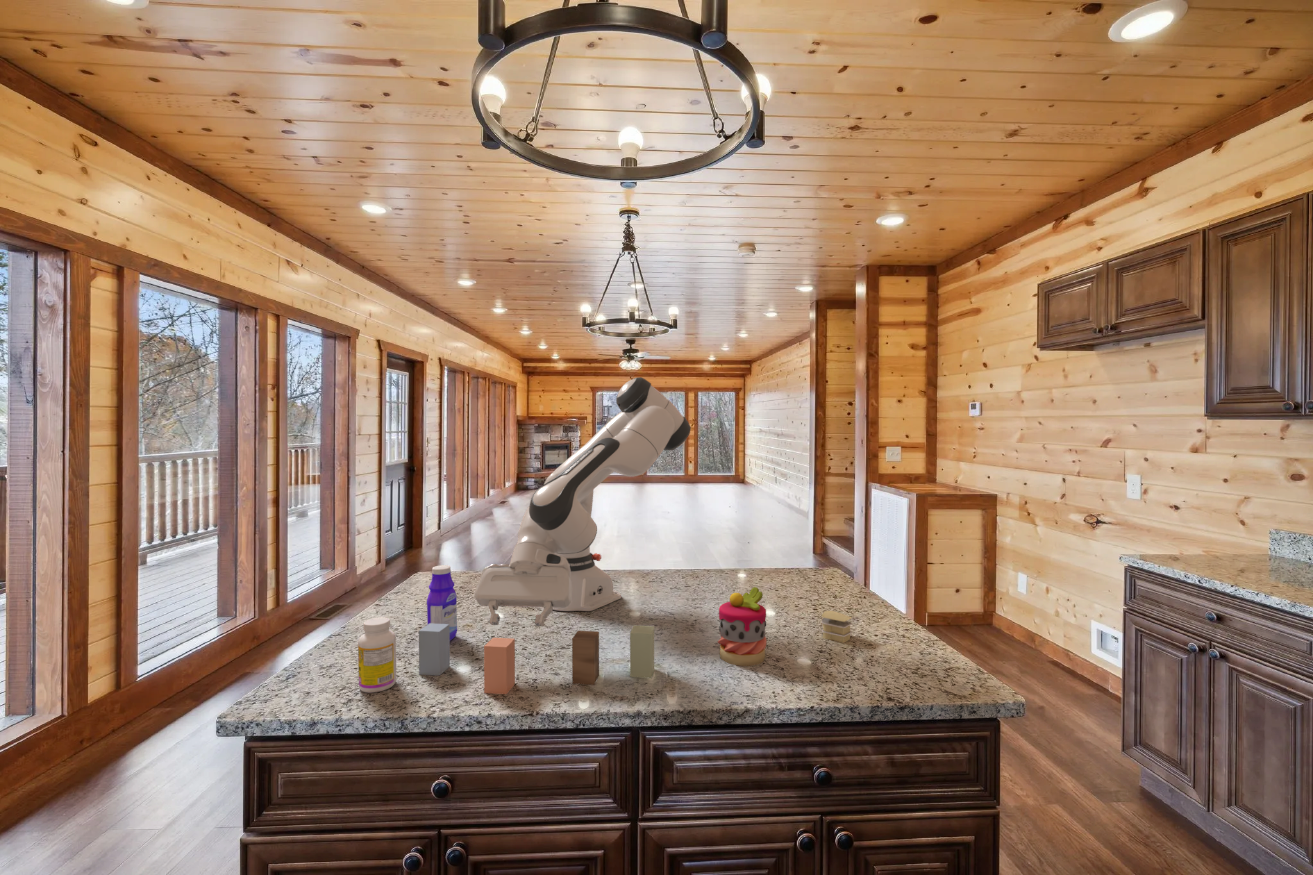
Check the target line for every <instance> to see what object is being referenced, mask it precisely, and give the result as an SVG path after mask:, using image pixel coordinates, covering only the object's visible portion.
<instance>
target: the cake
mask: <svg viewBox="0 0 1313 875" xmlns="http://www.w3.org/2000/svg"><path fill="white" fill-rule="evenodd" d="M762 598H763V592H762V591H760V588H758V587H756V586H753V587H752V588H751V590H750V591H749V593H748V592H744V594H743V595H742V594H741V593H740V592H733V593H731V594H730V596H729V601H727V602H724V603H722V604H721V605H720V606H719V608H718V618H719V627H718V628H719V635H720V638H719V640H718V641H717V643H718V644H719V658H720V659H721V660H722V661H723V662H724V663H726V664H730V665H733V666H738V667H753V666H758V665H760V664H762V663H763V662H765V659H766V647H767V643H768V642H767V637H766V627H767V621H766V618H767V610H766V607H764V605H761V604H760V603H759V602H760V601H761V600H762Z"/></svg>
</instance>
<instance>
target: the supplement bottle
mask: <svg viewBox="0 0 1313 875" xmlns="http://www.w3.org/2000/svg"><path fill="white" fill-rule="evenodd" d="M390 627H391V619H390V618H389V617H385V616H380V617H379V616H378V617H373V618H368V619H366V620H364V622H363V626H362V628H363V630H364V633H363V634H362V635H361V636H360V637H359V638H358V640H357V648H358V649H357V650H358V651H357V653H358V656H357V658H358V659H357V662H358V688H359V690H360V691H361V692H363V693H371V694H373V693H379V692H382V691H383V692H384V691H386V690H388V689H390V688H392V687H393V686H394V685H395V684H396V682H397V638H396V636H397V635H396V633H395V632H394V631H393V630H391V629H390Z"/></svg>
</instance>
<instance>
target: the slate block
mask: <svg viewBox="0 0 1313 875" xmlns="http://www.w3.org/2000/svg"><path fill="white" fill-rule="evenodd" d="M450 642H451V640H450V632H449V624H432V623H429V624H428V625H427V624H426V625H425V626H423V627H422V628H420V629H419V630H418V675H422V676H439V677H440V676H441V675H442V674H443V673H445V671H446V670H448V669H449V668H450V667H451V666H450V663H451V662H450V660H451V659H450V658H451V657H450V656H451V655H450Z"/></svg>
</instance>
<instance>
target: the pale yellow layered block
mask: <svg viewBox="0 0 1313 875" xmlns="http://www.w3.org/2000/svg"><path fill="white" fill-rule="evenodd" d="M821 618H822V620H821V621H820V622H821V623H822V628H821V632H822V638H823V639H824V640H828V641H829V640H831V641H835V642H837V643H842V644H844V643H846V642H848V641H850V640H851V634H852V633H853V631H852V630H851V625H853V623H852V622H850V621H849V620H850V619H852V617H851V616H849V615H846V614H844V613H840V612H838V611H834V610H825V611H824V612H823V613H822V615H821Z"/></svg>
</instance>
